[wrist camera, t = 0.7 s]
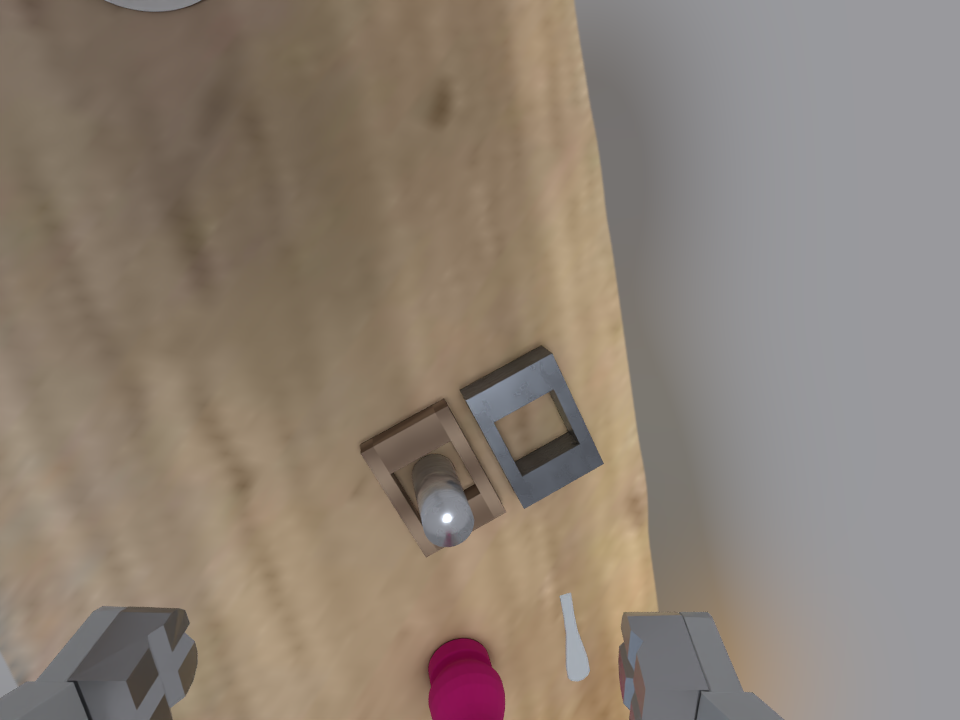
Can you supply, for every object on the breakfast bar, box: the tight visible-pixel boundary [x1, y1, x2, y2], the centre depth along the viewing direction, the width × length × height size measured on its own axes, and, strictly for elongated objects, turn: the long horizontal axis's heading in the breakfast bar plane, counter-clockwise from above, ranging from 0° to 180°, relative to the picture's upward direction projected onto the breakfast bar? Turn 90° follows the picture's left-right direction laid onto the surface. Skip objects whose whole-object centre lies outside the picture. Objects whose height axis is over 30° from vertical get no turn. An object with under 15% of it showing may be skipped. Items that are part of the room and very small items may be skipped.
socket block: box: [460, 346, 604, 509], centre depth 54 cm, size 12×8×3 cm
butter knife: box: [559, 593, 590, 681], centre depth 61 cm, size 1×24×3 cm
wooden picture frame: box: [360, 399, 506, 557], centre depth 54 cm, size 12×8×2 cm
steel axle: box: [412, 454, 474, 547], centre depth 50 cm, size 4×4×9 cm
